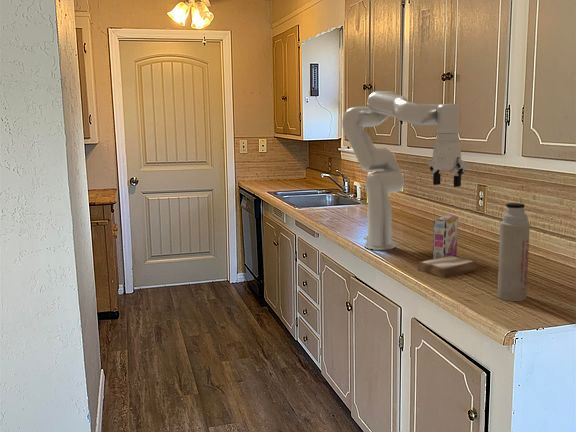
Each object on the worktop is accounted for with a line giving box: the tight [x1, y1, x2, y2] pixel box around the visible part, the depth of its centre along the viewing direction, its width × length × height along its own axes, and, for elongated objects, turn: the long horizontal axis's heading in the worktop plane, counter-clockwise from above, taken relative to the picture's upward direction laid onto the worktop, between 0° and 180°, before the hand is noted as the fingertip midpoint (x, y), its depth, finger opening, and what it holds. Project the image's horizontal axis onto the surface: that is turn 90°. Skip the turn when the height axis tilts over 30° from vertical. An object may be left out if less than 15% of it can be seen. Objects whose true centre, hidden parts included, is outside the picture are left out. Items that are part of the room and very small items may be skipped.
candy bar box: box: [432, 215, 459, 259], centre depth 213 cm, size 11×5×16 cm, turn 141°
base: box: [417, 256, 478, 279], centre depth 200 cm, size 12×16×3 cm
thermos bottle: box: [497, 202, 531, 302], centre depth 167 cm, size 8×8×28 cm
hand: (446, 185), depth 209 cm, fingers open, 9 cm apart
